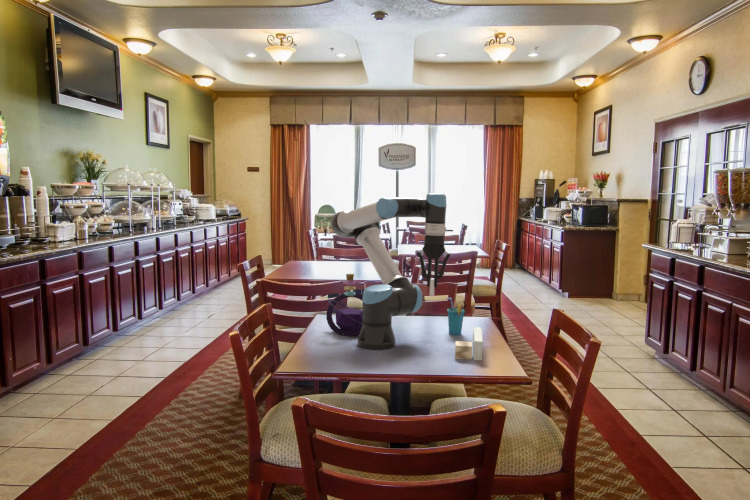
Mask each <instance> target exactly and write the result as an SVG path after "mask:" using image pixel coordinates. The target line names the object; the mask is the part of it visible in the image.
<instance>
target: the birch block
mask: <svg viewBox="0 0 750 500" xmlns="http://www.w3.org/2000/svg"><path fill="white" fill-rule="evenodd" d="M454 347H455V348H454V359H456V360H457V359H459V360H472V357H473V356H472V355H473V341H465V340H464V341H462V340H455V346H454Z"/></svg>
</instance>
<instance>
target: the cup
mask: <svg viewBox="0 0 750 500" xmlns="http://www.w3.org/2000/svg"><path fill="white" fill-rule="evenodd" d="M446 300H450V306H451V307H449V308H447V309H446V310H447V318H448V319H447V320H448V333H449V335H452V336H461V335H462V330H463V323H464V322H463V321H464V314H465V313H466V310H464V308H462V305H461V303H457V306H456V307H454V302H453V298H452V297H446Z"/></svg>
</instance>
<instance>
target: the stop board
mask: <svg viewBox="0 0 750 500" xmlns="http://www.w3.org/2000/svg"><path fill="white" fill-rule="evenodd" d="M482 331H483V330H482V327H477V326H474V327H473V332H472V333H473V334H472V336H473V337H472V355H473V356H472V357H473V360H474V361H482V360H483V347H484V346H483V345H484V344H483V341H484V340H483V333H482Z"/></svg>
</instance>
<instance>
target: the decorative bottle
mask: <svg viewBox="0 0 750 500" xmlns="http://www.w3.org/2000/svg"><path fill="white" fill-rule="evenodd" d="M345 277H346V280H345V281H344V282H343V284H344V285H347V286H344V287H343V289H344V290H345V292H344V293H341V294H339V295H337V296H336V297H335V298H334V299H331V298H330V299H327V302H328V304H329V305H328V307H327V311H326V322H327V324H328V326H329V328H330V330H332V331H333V332H334V333H335V334H338V336H339V335H340V336H343V337H354V336H359V333H360V330H361V327H362V316H363V308H362V309H359V308H360V307H359V308H352V307H349V306H347V305H345V304H343V303H342V302H340V301H341V300H343V299H346V298H356V299H358V300H360V301H362V298H363V293H362V294H361V293H359V292H355V291H356V286H355V285H356V283H357V282H356V281H355V280H354V277H355V273H346V274H345ZM337 304H338V305H341V306H343V307H345V308H339V309H338V308H337V307H335V306H336V305H337ZM334 309H335V310H334ZM333 310H334V311H335V321H334V319H333Z"/></svg>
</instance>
